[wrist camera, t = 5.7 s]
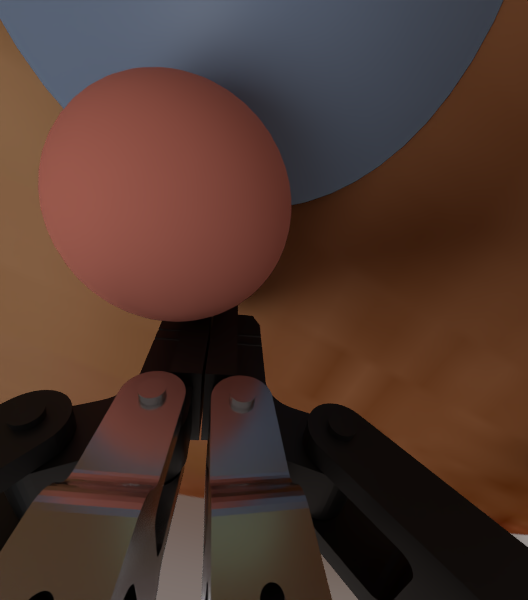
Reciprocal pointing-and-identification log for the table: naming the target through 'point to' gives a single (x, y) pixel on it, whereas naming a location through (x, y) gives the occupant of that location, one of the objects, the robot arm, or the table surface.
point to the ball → (164, 194)
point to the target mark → (275, 65)
